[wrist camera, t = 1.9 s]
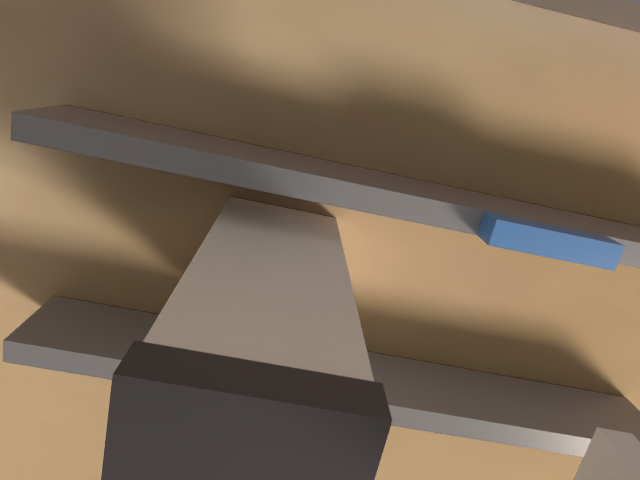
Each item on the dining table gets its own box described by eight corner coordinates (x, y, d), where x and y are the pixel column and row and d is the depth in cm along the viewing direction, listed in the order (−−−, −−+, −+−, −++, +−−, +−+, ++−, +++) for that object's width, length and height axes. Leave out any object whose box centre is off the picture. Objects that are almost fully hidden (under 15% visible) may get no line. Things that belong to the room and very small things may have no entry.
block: (210, 296, 20) (89, 587, 9) (227, 193, 19) (112, 373, 7) (315, 315, 20) (332, 618, 9) (338, 216, 19) (392, 419, 8)
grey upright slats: (52, 314, 20) (-16, 378, 16) (83, -138, 16) (-1, -220, 11) (618, 412, 22) (693, 492, 18) (787, 42, 18) (940, 32, 14)
